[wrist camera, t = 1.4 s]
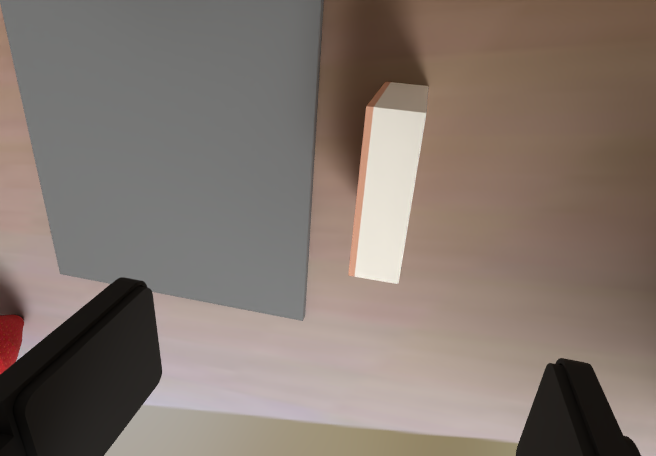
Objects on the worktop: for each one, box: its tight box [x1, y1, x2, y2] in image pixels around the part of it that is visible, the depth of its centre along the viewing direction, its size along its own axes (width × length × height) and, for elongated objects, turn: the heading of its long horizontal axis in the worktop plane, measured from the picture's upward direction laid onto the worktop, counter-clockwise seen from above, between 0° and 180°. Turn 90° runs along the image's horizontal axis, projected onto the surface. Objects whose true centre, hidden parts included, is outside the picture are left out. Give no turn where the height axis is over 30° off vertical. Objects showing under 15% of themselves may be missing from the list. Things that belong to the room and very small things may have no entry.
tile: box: [348, 82, 429, 284], centre depth 23 cm, size 2×8×8 cm, turn 176°
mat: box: [0, 0, 324, 321], centre depth 29 cm, size 20×26×1 cm
